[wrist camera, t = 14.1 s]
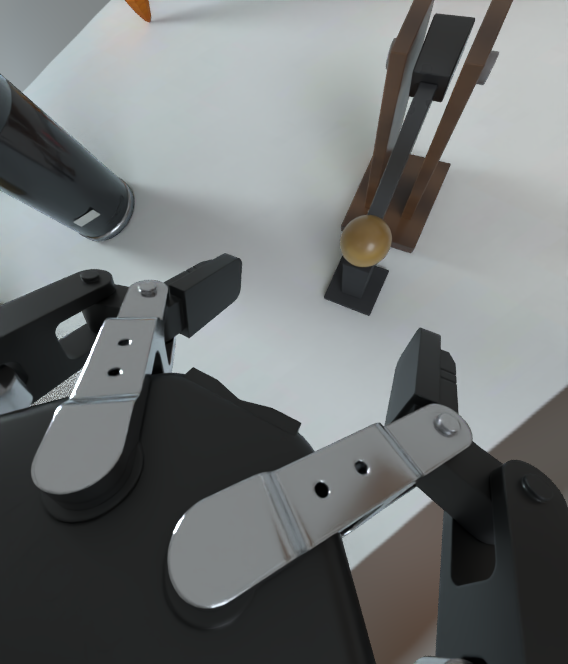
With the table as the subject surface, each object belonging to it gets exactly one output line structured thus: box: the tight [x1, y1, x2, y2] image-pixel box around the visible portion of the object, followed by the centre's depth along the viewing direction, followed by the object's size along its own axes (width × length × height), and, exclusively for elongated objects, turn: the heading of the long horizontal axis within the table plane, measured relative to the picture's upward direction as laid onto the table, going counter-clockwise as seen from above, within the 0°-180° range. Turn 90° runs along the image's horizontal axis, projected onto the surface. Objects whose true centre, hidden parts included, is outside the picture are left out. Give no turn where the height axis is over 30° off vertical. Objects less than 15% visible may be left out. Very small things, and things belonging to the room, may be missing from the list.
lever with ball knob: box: [340, 14, 475, 267], centre depth 18 cm, size 14×4×4 cm, turn 155°
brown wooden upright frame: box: [341, 0, 513, 253], centre depth 22 cm, size 10×8×16 cm
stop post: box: [324, 256, 389, 316], centre depth 25 cm, size 5×5×8 cm
